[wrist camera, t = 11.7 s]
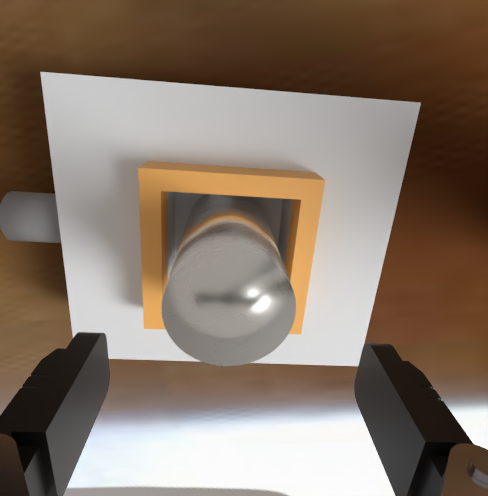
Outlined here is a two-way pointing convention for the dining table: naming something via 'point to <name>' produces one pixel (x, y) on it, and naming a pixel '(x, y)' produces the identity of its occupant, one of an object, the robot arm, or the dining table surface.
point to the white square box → (221, 183)
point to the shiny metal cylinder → (228, 284)
